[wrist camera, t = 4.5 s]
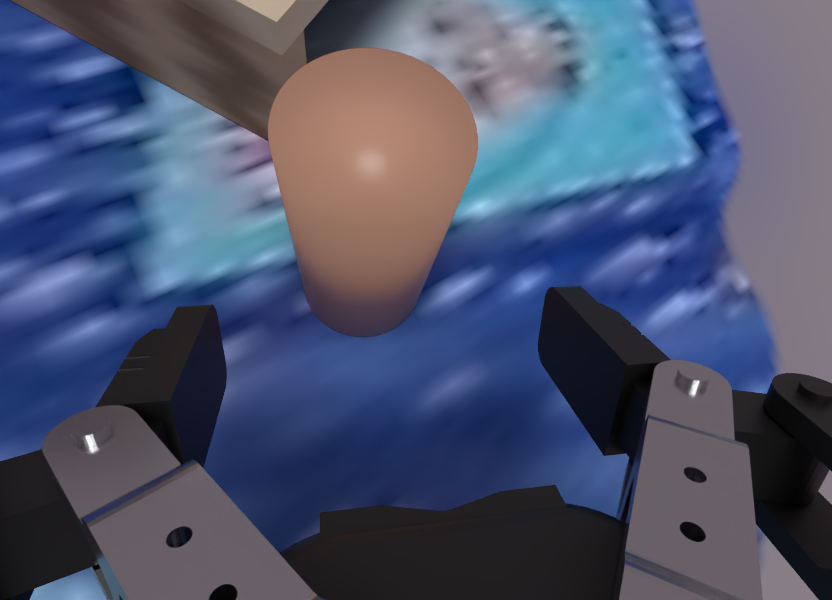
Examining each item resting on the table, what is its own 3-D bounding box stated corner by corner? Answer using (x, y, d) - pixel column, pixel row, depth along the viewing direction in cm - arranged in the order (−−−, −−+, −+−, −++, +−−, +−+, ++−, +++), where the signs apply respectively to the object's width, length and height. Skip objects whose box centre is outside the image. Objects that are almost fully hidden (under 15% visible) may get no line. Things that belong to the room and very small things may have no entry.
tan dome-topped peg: (280, 300, 23) (223, 157, 12) (342, 208, 24) (339, 17, 14) (385, 358, 22) (418, 264, 12) (440, 262, 24) (510, 107, 14)
